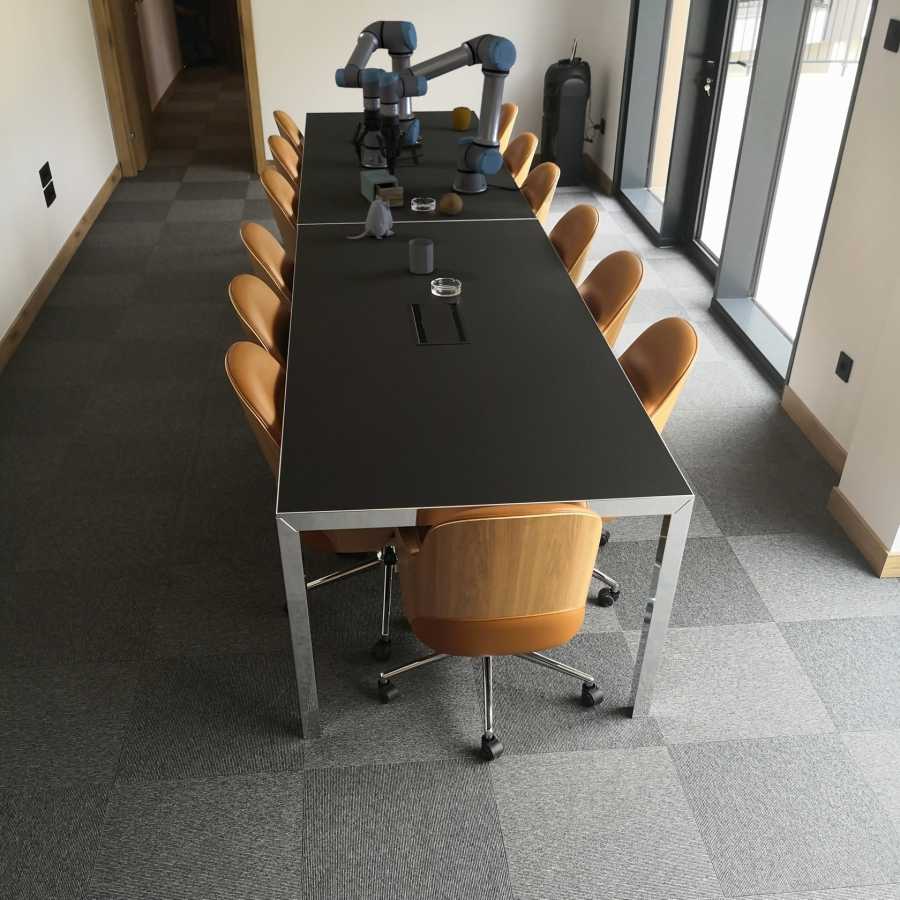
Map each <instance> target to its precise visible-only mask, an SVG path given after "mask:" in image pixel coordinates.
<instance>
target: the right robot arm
mask: <svg viewBox="0 0 900 900" xmlns="http://www.w3.org/2000/svg"><path fill="white" fill-rule="evenodd" d="M516 61H517V48H516V46H515V44H514V43H513V41H512V40H510V39H508V38H506V36H505V37H504V36H500V35H495V34H491V33H484V34H480V35H477V36H475V37H473V38H470V39H468V40H465V41H463V42H461V44H460V46H458V47H455V48H454V49H450V50H448V51H445V52H443V53H440V54H439V55H436V56H434V57H431V58H428V59H426V60H423V61H421V62H418V63H415V64H414V65H410V67H409V68H406V69H403V70H401V71H400V70H394V71H392V70H391V71H386V72H384V73H381V74H380V75H379V94H380V114H382V115H381V116H380V120H381V128H380V131H379V132H378V133H375V137H376V138H377V140H378V144H379V148H380V151H381V155H382V157H384V158H386V164H387V167H388V172H389V174H390V175H393V176H395V167H397V160H396V159H397V158H401V154H402V149H403V146H404V145H403V140H404V137H405V135H406V132H404V131H402V130H401V128H400V126H399V115H398V114H399V98H405V97H411V98H419V97H423V96H426V95H427V93H428V89H429V87H428V82H429V81H431V80H433V79H436V78H439V77H441V76H443V75H446V74H448V73H450V72H453V71H456V70H458V69H461V68H463V67H466V66H468V67H473V66H475V65H481V70H480V71H481V73H482V75H483V84H482V91H481V92H482V93H481V102H480V110H479V118H478V128H477V135H471V136H463V137H459V138H458V139H457V144H456V176H455V178H454V181H453V184H452V190H453V191H454V192H455V193H456V194H462V195H479V194H483V193H485V192H486V191H487V190H488V187H492V188H497V189H501V190H508V191H521V190H523V189H525V187H527V186H528V183H526V184H524V185H522V186H521V187H518V188H511V187H505V186H500V185H495V184H489V183H487V181H486V177H485V176H487V177H490V176H493V175H496V173H497V172H499V171H500V169H501V168H502V166H503V162H504V161H503V158H504V157H503V155H502V153H501V151H500V149H501V142H500V141H499V139H498V137H499V128H500V120H501V113H502V105H503V98H504V97H503V95H504V88H505V81H506V78H507V77H509V75H510V70H511V68H513V66H514V65H515V64H516ZM381 134H382V135H383V136H384V138H385V147H386V154H385V150H384V146H383V142H382V139H381V137H382V136H381ZM398 134H399V135H400V136H399V140H398V144H396V137H397V135H398ZM390 139H391V146H392V151H391V158H390Z"/></svg>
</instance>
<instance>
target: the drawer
mask: <svg viewBox="0 0 900 900" xmlns="http://www.w3.org/2000/svg"><path fill="white" fill-rule="evenodd" d="M374 187H375V200H376V195H378V196H379V197H380V198H381V200H382V202H386V203H387V200H389V207H390V208H392V207H400V206H402V207H403V206H404V188H403V186H399V185H398V186H397V185H396V184H395V183H394V182H390V183H381V184H374Z"/></svg>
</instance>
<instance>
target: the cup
mask: <svg viewBox="0 0 900 900" xmlns="http://www.w3.org/2000/svg"><path fill="white" fill-rule="evenodd" d="M408 253H409V272H411V273H412V274H416V275H426V274H430V273H432V272H434V241H433V240H431V239H428V238H422V237H421V238H420V237H419V238H414V239H411V240H410V241H409V242H408Z"/></svg>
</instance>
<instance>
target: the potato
mask: <svg viewBox="0 0 900 900" xmlns="http://www.w3.org/2000/svg"><path fill="white" fill-rule="evenodd" d="M463 204H464V203H463V200H462V198H461V197H460V195H458V194H457V193H456V192H455V193H454V192H448V193H445V194H444V195H443V196H442V197H441V199H440V201H439V209H440V210H441V211H442V212H443V213H444V214H446V215H448V216H456V215H457V214H458V213H459V212H461V211H462V207H463Z"/></svg>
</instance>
